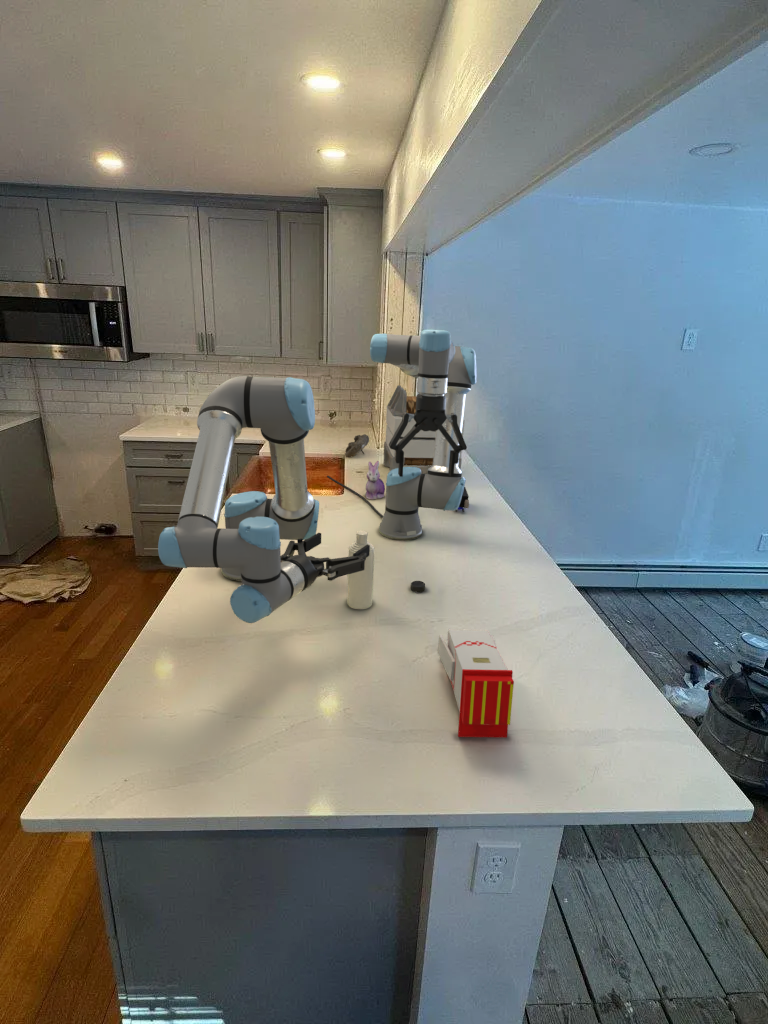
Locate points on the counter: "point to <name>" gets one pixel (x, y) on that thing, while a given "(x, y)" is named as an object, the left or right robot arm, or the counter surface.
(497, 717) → the toy
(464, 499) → the figurine character
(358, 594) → the bottle
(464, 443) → the right robot arm
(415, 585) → the cap
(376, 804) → the counter surface
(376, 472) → the figurine
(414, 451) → the transformer
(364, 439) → the fossil
